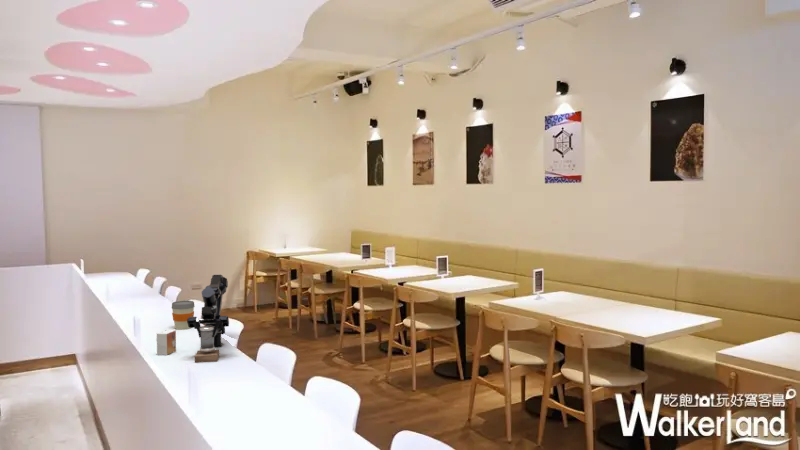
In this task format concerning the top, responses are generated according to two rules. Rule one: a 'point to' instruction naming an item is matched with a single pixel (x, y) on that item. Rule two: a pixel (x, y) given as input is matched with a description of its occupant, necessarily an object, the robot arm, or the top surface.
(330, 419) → the top surface
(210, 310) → the robot arm
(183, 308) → the reusable coffee cup
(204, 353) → the stand
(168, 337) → the small box
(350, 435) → the top surface
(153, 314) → the top surface
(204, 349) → the cylinder
